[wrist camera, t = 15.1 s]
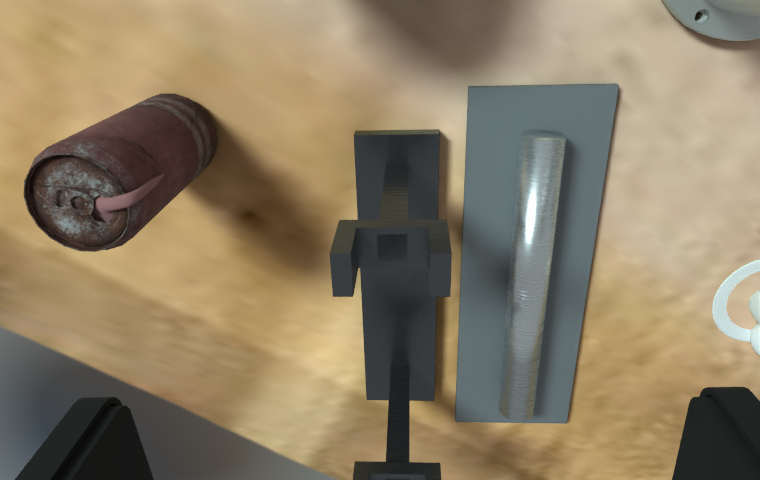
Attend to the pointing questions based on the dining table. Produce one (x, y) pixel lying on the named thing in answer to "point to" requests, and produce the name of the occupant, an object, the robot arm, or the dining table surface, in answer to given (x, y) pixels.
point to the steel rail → (530, 268)
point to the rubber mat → (494, 237)
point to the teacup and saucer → (756, 336)
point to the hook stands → (396, 280)
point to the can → (118, 172)
